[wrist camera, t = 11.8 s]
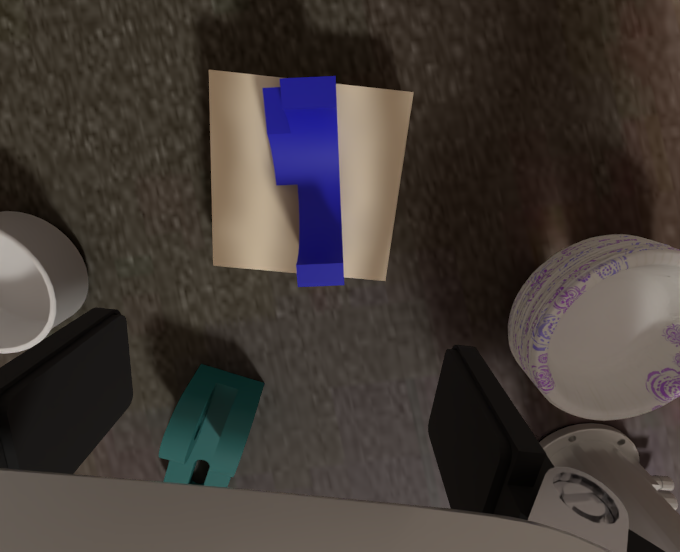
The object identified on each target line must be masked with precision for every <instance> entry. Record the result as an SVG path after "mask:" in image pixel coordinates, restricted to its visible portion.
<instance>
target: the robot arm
mask: <svg viewBox="0 0 680 552" xmlns="http://www.w3.org/2000/svg"><path fill="white" fill-rule="evenodd" d="M132 398H133V388H132V377H131V366H130V355H129V344H128V333H127V323H126V318H125V316H123V315H121V314H120V312H119V311H118V310H115V309H105V308H93V309H91V310H90V311H88V312H87V313H85V314H83V315H82V316H80V317H79V318H77V319H76V320H74V321H73V322H71V323H69V324H68V325H66V326H65V327H63V328H62V329H60V330H58V331H57V332H55V333H54V334H52V335H51V336H49V337H48V338H46V339H44V340H43V341H41V342H40V343H38V344H37V345H35V346H33V347H32V348H30V349H29V350H27V351H26V352H24V353H22V354H21V355H19V356H18V357H16V358H15V359H13V360H12V361H10V362H8V363H7V364H5V365H4V366H2V367H1V368H0V552H680V515H679V514H678V513H677V512H676V509H677V507H678V503H677V500H676V498H675V496H674V495H673V494H672V493H671V492H669V491H664V490H673V489H674V483H673V481H672V479H671V478H669V477H668V476H657V475H654V476H651V475H650V474H649V473H648V472H647V471H646V470H645V469H644V468H643V467H642V466H641V465H640V464H639V459H640V458H639V454H638V450H637V448H636V447H635V445H634V443H633V442H632V441H631V440H630V439H629V438H628V437H627V436H626V435H625V434H623V433H622V432H621V431H620V430H618V429H616V428H614V427H611V426H608V425H604V424H596V423H585V424H577V425H572V426H568V427H565V428H563V429H560V430H557V431H556V432H554V433H552V434H550V435H548V436H547V437H545V438H544V439H543V440H541V441H540V442H538V440H537V439H536V437H535V436H534V434H533V433H532V431H531V430H530V428H529V427H528V425H527V424H526V422H525V421H524V419H523V418H522V416H521V415H520V413H519V412H518V410H517V409H516V407H515V406H514V404H513V403H512V401H511V400H510V398H509V397H508V395H507V394H506V392H505V391H504V389H503V388H502V386H501V385H500V383H499V382H498V380H497V379H496V377H495V376H494V374H493V373H492V371H491V370H490V368H489V367H488V365H487V364H486V362H485V361H484V359H483V358H482V356H481V355H480V353H479V352H478V350H477V349H476V348H475V347H471V346H461V345H454V346H453V348H452V349H447V351H446V353H445V356H444V361H443V365H442V369H441V373H440V377H439V381H438V386H437V390H436V394H435V398H434V402H433V407H432V411H431V415H430V419H429V424H428V432H429V437H430V440H431V444H432V447H433V450H434V454H435V457H436V460H437V464H438V467H439V470H440V474H441V477H442V480H443V484H444V487H445V490H446V494H447V497H448V500H449V504H450V507H451V509H449V508H438V507H428V506H418V505H407V504H397V503H387V502H376V501H366V500H356V499H345V498H335V497H324V496H314V495H304V494H293V493H282V492H271V491H260V490H249V489H238V488H227V487H216V486H205V485H194V484H182V483H171V482H160V481H148V480H136V479H124V478H112V477H101V476H89V475H77V474H73V473H74V472H75V471H76V470H77V469H78V467H79V466H80V465H81V464H82V463H83V461H84V460H85V459H86V458H87V457H88V455H89V454H90V453H91V452H92V451H93V449H94V448H95V447H96V446H97V444H98V443H99V442H100V441H101V440H102V438H103V437H104V436H105V435H106V434H107V432H108V431H109V430H110V429H111V428H112V426H113V425H114V424H115V423H116V422H117V420H118V419H119V418H120V417H121V416H122V414H123V413H124V412H125V411H126V410H127V408H128V407H129V406H130V404H131V401H132ZM658 489H660V490H658Z"/></svg>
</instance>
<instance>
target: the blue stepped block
mask: <svg viewBox="0 0 680 552" xmlns="http://www.w3.org/2000/svg"><path fill="white" fill-rule="evenodd" d="M262 89H263V98H264V108H265V118H266V127H267V135H268V139H269V143H270V147H271V152H272V158H273V164H274V170H275V178H276V186H277V185H298V199H299V251H298V259H297V263H296V270H297V281H298V287H309V286H333V285H344V266H343V244H342V221H341V197H340V173H339V149H338V124H337V98H336V76H323V77H302V78H280V87H271V88H262Z"/></svg>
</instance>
